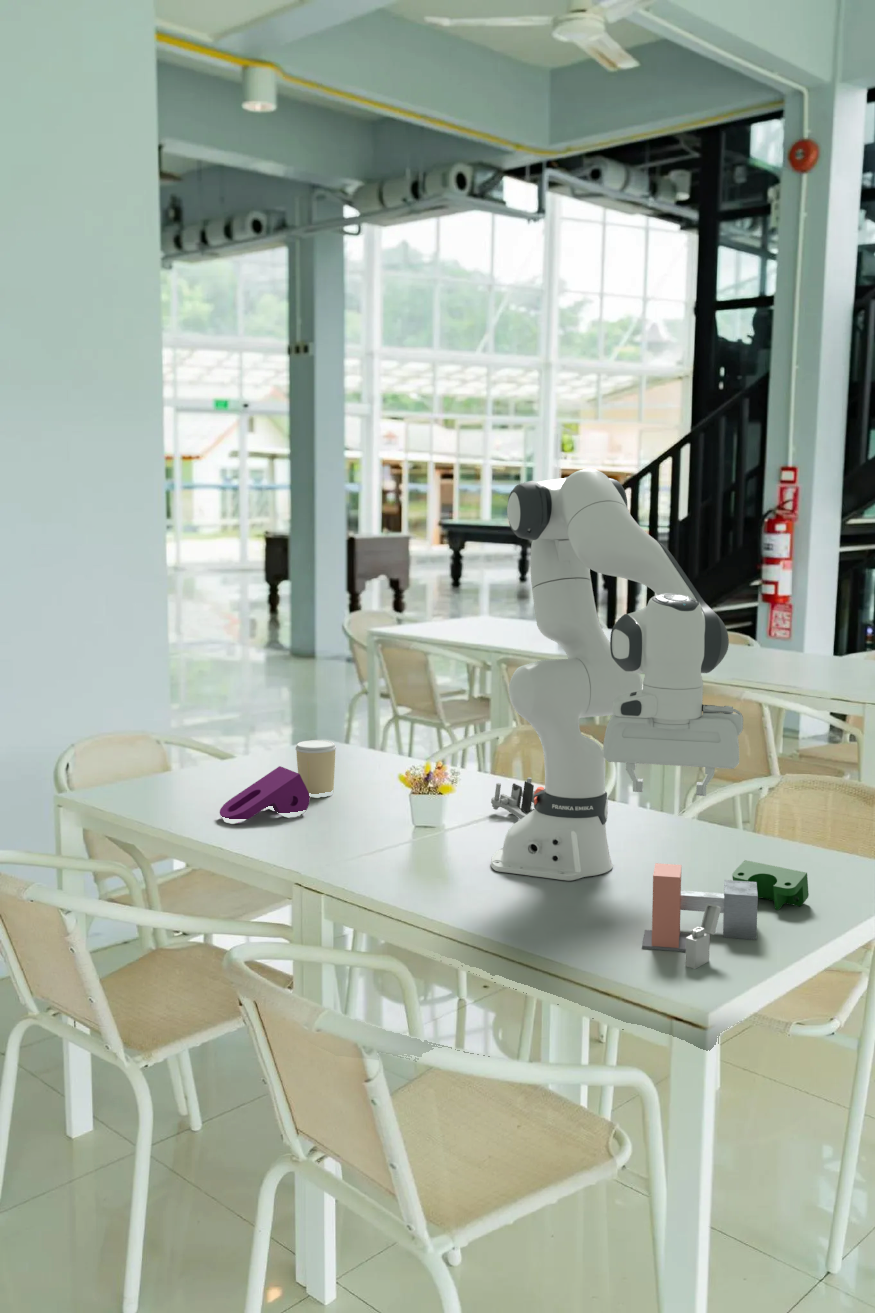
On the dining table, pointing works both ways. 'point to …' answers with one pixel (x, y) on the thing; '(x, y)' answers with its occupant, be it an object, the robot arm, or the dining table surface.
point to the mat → (648, 945)
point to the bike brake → (515, 799)
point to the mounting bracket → (269, 796)
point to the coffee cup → (316, 765)
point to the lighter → (701, 938)
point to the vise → (729, 907)
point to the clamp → (775, 882)
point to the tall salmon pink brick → (666, 905)
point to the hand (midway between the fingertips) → (669, 793)
